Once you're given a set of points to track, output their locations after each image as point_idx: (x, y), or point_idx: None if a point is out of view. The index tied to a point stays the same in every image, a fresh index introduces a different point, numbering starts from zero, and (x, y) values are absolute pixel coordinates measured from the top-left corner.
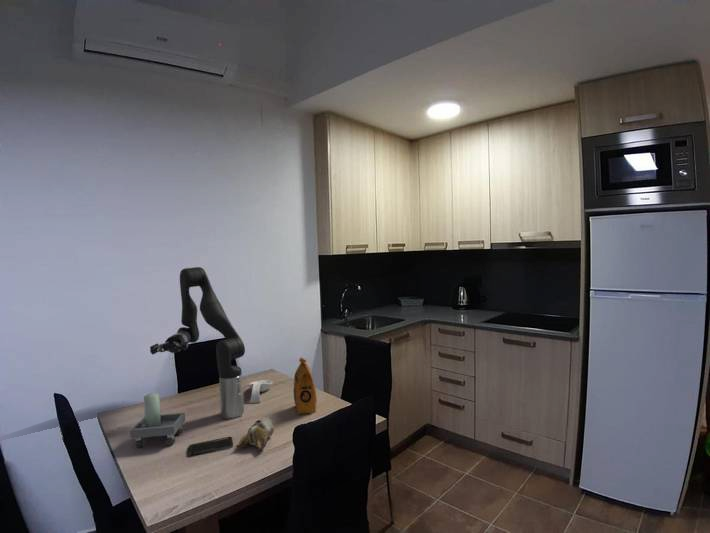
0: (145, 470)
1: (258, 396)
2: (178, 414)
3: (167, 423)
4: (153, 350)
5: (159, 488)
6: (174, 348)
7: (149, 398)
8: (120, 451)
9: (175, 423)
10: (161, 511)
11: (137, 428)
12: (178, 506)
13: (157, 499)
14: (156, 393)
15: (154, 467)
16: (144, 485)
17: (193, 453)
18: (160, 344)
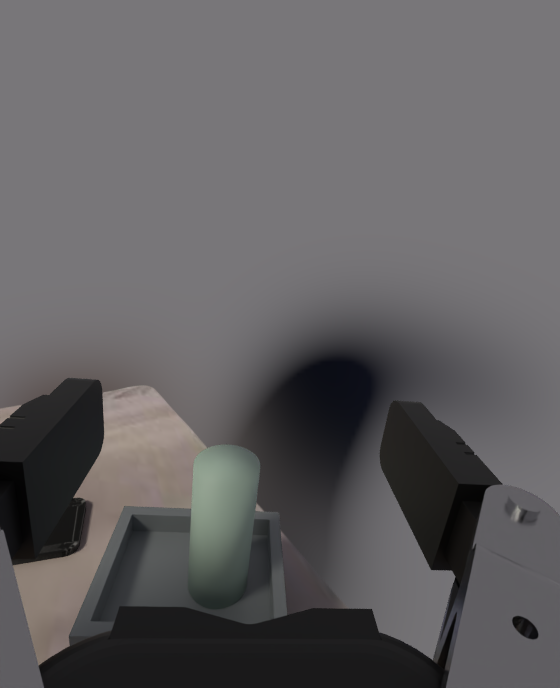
0: (190, 474)
1: None
2: (105, 622)
3: (160, 600)
4: (389, 411)
5: (148, 427)
6: (80, 381)
7: (226, 447)
8: (306, 571)
9: (119, 526)
10: (137, 394)
11: (259, 519)
12: (113, 396)
13: (147, 410)
14: (211, 480)
15: (171, 480)
16: (178, 438)
17: (69, 503)
18: (511, 565)
